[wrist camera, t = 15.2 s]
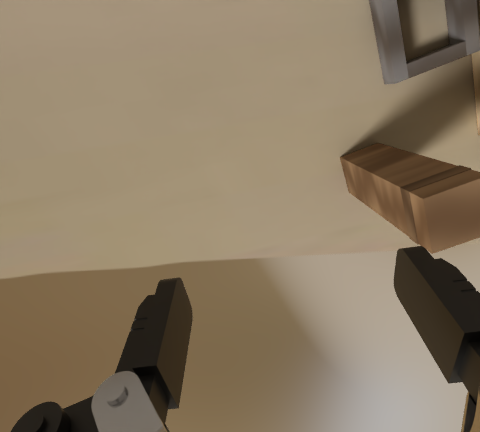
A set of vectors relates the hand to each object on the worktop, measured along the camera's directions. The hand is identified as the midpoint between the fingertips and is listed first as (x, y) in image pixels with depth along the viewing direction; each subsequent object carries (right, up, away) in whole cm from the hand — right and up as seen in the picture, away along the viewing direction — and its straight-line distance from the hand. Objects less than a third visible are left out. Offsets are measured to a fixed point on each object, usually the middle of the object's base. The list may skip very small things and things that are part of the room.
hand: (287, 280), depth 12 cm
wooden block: (+11, +7, +21) cm, 25 cm away
